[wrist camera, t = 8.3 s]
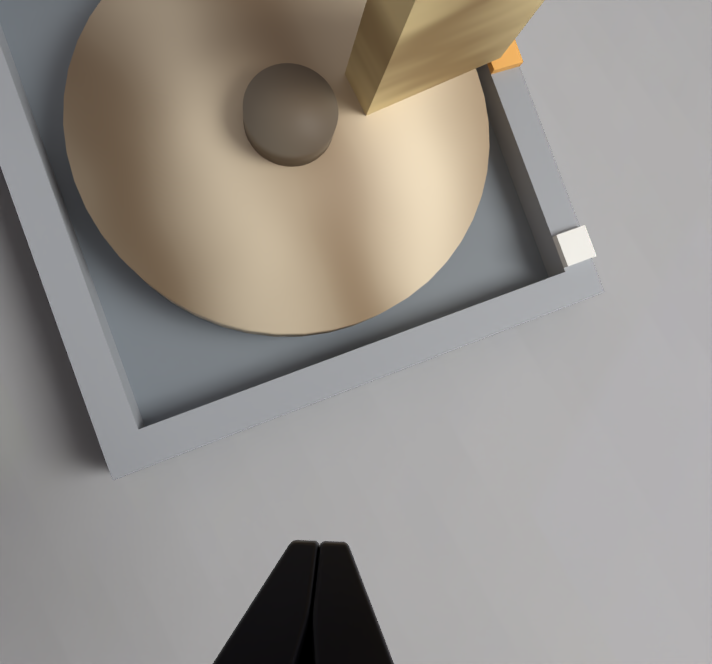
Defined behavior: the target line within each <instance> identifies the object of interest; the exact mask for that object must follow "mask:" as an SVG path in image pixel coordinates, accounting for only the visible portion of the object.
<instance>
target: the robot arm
mask: <svg viewBox="0 0 712 664" xmlns="http://www.w3.org/2000/svg"><path fill="white" fill-rule="evenodd" d="M213 664H394V663H393V660H392V658H391V655H390V652H389V650H388V647H387V645H386V642H385V639H384V637H383V634H382V631H381V629H380V626H379V624H378V621H377V618H376V616H375V613H374V610H373V608H372V605H371V603H370V600H369V597H368V595H367V592H366V589H365V587H364V584H363V582H362V579H361V576H360V574H359V571H358V568H357V566H356V563H355V561H354V558H353V555H352V553H351V550H350V548H349V546H348V544H347V543H345V542H332V541H324V542H322V543H321V544H320V546H319V543H318V542H316V541H306V540H295V541H293V542H291V543H290V544H289V546H288V547H287V549H286V550H285V552H284V554H283V555H282V557H281V558H280V560H279V561H278V563H277V564H276V566H275V568H274V569H273V571H272V572H271V574H270V575H269V577H268V579H267V580H266V582H265V583H264V585H263V586H262V588H261V589H260V591H259V593H258V594H257V596H256V597H255V599H254V600H253V602H252V603H251V605H250V607H249V608H248V610H247V611H246V613H245V614H244V616H243V617H242V619H241V621H240V622H239V624H238V625H237V627H236V628H235V630H234V631H233V633H232V635H231V636H230V638H229V639H228V641H227V642H226V644H225V646H224V647H223V649H222V650H221V652H220V653H219V655H218V656H217V658H216V660H215V661H214V663H213Z"/></svg>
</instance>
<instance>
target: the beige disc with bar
mask: <svg viewBox="0 0 712 664" xmlns="http://www.w3.org/2000/svg"><path fill="white" fill-rule="evenodd" d="M543 2H544V0H101V1H100V3H99V4H98V5H97V7H96V8H95V10H94V11H93V13H92V14H91V15H90V17H89V19H88V21H87V23H86V25H85V27H84V29H83V31H82V33H81V35H80V37H79V39H78V41H77V44H76V47H75V50H74V53H73V56H72V59H71V62H70V65H69V68H68V74H67V80H66V86H65V92H64V111H63V127H64V135H65V143H66V151H67V156H68V159H69V163H70V167H71V171H72V174H73V178H74V181H75V184H76V186H77V188H78V191H79V193H80V196H81V198H82V200H83V203H84V205H85V207H86V209H87V211H88V213H89V214H90V216H91V218H92V219H93V221H94V223H95V224H96V226H97V228H98V229H99V231H100V233H101V234H102V235H103V237H104V238H105V239H106V240H107V242H108V243H109V244H110V246H111V247H112V248H113V249H114V251H115V252H116V253H117V254H118V256H119V257H120V258H121V259H122V260H123V261H124V262H125V263H126V264H127V265H128V266H129V267H130V268H131V269H133V270H134V271H135V272H136V273H137V274H138V275H139V276H140V277H141V278H142V279H143V280H144V281H145V282H146V283H147V284H148V285H149V286H150V287H152V288H153V289H154V290H156V291H157V292H158V293H160V294H161V295H162V296H164V297H165V298H166V299H168V300H169V301H170V302H172V303H173V304H175V305H177V306H179V307H181V308H182V309H184V310H186V311H188V312H190V313H191V314H193V315H195V316H197V317H199V318H202V319H204V320H207V321H209V322H212V323H214V324H217V325H219V326H222V327H225V328H229V329H233V330H237V331H241V332H245V333H249V334H257V335H265V336H273V337H303V336H310V335H317V334H324V333H330V332H333V331H337V330H341V329H344V328H348V327H351V326H354V325H356V324H359V323H361V322H363V321H366V320H368V319H370V318H373V317H375V316H377V315H379V314H381V313H383V312H385V311H386V310H388V309H390V308H391V307H393V306H395V305H396V304H398V303H400V302H401V301H403V300H405V299H406V298H408V297H409V296H411V295H412V294H413V293H414V292H416V291H417V290H418V289H419V288H421V287H422V286H423V285H424V284H426V283H427V282H428V281H429V280H430V279H431V278H432V277H433V276H434V275H435V274H436V273H437V272H438V271H439V270H440V269H441V268H442V267H443V265H444V264H445V263H446V262H447V261H448V259H449V258H450V257H451V255H452V254H453V253H454V251H455V250H456V248H457V247H458V246H459V244H460V243H461V241H462V239H463V238H464V236H465V234H466V232H467V230H468V228H469V226H470V224H471V222H472V221H473V218H474V216H475V213H476V210H477V207H478V205H479V202H480V199H481V197H482V193H483V188H484V184H485V179H486V175H487V169H488V157H489V121H488V115H487V109H486V103H485V97H484V93H483V90H482V87H481V83H480V80H479V76H478V73H477V70H476V68H478V67H480V66H483V65H485V64H487V63H490V62H492V61H494V60H497V59H499V58H501V56H502V55H503V54H504V53H505V51H506V50H507V49H508V47H509V46H510V45H511V43H512V42H513V41H514V39H515V38H516V37H517V36H518V34H519V33H520V32H521V30H522V29H523V28H524V26H525V25H526V24H527V23H528V21H529V20H530V19H531V17H532V16H533V15H534V13H535V12H536V11H537V9H538V8H539V7H540V6H541V4H542V3H543Z"/></svg>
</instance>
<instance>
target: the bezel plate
mask: <svg viewBox="0 0 712 664" xmlns="http://www.w3.org/2000/svg"><path fill="white" fill-rule="evenodd" d="M100 1H101V0H0V166H1V169H2V172H3V175H4V178H5V180H6V183H7V186H8V189H9V192H10V194H11V197H12V200H13V203H14V206H15V208H16V211H17V214H18V217H19V220H20V222H21V225H22V228H23V231H24V234H25V236H26V239H27V242H28V245H29V248H30V250H31V253H32V256H33V259H34V262H35V264H36V267H37V270H38V273H39V276H40V278H41V281H42V284H43V287H44V290H45V292H46V295H47V298H48V301H49V304H50V306H51V309H52V312H53V315H54V318H55V320H56V323H57V326H58V329H59V332H60V334H61V337H62V340H63V343H64V346H65V348H66V351H67V354H68V357H69V360H70V362H71V365H72V368H73V371H74V374H75V376H76V379H77V382H78V385H79V388H80V390H81V393H82V396H83V399H84V402H85V405H86V407H87V410H88V413H89V416H90V419H91V421H92V424H93V427H94V430H95V433H96V435H97V438H98V441H99V444H100V447H101V449H102V452H103V455H104V458H105V461H106V463H107V466H108V469H109V472H110V475H111V477H112V480H115V479H118V478H121V477H123V476H126V475H128V474H131V473H134V472H136V471H139V470H142V469H144V468H147V467H149V466H152V465H155V464H157V463H160V462H162V461H165V460H168V459H170V458H173V457H175V456H178V455H181V454H183V453H186V452H189V451H191V450H194V449H196V448H199V447H202V446H204V445H207V444H209V443H212V442H215V441H217V440H220V439H223V438H225V437H228V436H230V435H233V434H236V433H238V432H241V431H243V430H246V429H249V428H251V427H254V426H257V425H259V424H262V423H264V422H267V421H270V420H272V419H275V418H277V417H280V416H283V415H285V414H288V413H290V412H293V411H296V410H298V409H301V408H304V407H306V406H309V405H311V404H314V403H317V402H319V401H322V400H324V399H327V398H330V397H332V396H335V395H338V394H340V393H343V392H345V391H348V390H351V389H353V388H356V387H358V386H361V385H364V384H366V383H369V382H372V381H374V380H377V379H379V378H382V377H385V376H387V375H390V374H392V373H395V372H398V371H400V370H403V369H406V368H408V367H411V366H413V365H416V364H419V363H421V362H424V361H426V360H429V359H432V358H434V357H437V356H439V355H442V354H445V353H447V352H450V351H453V350H455V349H458V348H460V347H463V346H466V345H468V344H471V343H473V342H476V341H479V340H481V339H484V338H487V337H489V336H492V335H494V334H497V333H500V332H502V331H505V330H507V329H510V328H513V327H515V326H518V325H521V324H523V323H526V322H528V321H531V320H534V319H536V318H539V317H541V316H544V315H547V314H549V313H552V312H554V311H557V310H560V309H562V308H565V307H568V306H570V305H573V304H575V303H578V302H581V301H583V300H586V299H588V298H591V297H594V296H596V295H599V294H602V293H604V292H605V291H604V289H603V286H602V283H601V281H600V278H599V275H598V273H597V270H596V267H595V265H594V262H593V259H592V257H595V256H596V253H595V251H594V248H593V245H592V243H591V240H590V237H589V235H588V232H587V229H586V227H585V225H583V226H580V225H579V222H578V220H577V217H576V214H575V212H574V209H573V206H572V204H571V201H570V198H569V196H568V193H567V190H566V188H565V185H564V182H563V180H562V177H561V175H560V172H559V169H558V167H557V164H556V161H555V159H554V156H553V153H552V151H551V148H550V145H549V143H548V140H547V137H546V135H545V132H544V129H543V127H542V124H541V121H540V119H539V116H538V114H537V111H536V108H535V106H534V103H533V100H532V98H531V95H530V92H529V90H528V87H527V84H526V82H525V79H524V76H523V74H522V71H521V68H520V65H521V64H522V63H523V60H522V57H521V54H520V52H519V49H518V47H517V44H516V41H515V39H514V41H513V42H512V43H511V45H510V46H509V47H508V49H507V50H506V51H505V53H504V54H503V55H502V56H501V58H499V59H497V60H494V61H492V62H490V63H487V64H485V65H483V66H480V67H478V68H476V70H477V73H478V76H479V80H480V83H481V87H482V90H483V93H484V97H485V103H486V109H487V115H488V121H489V157H488V169H487V175H486V179H485V184H484V188H483V193H482V197H481V199H480V202H479V205H478V207H477V210H476V213H475V216H474V218H473V221H472V222H471V224H470V226H469V228H468V230H467V232H466V234H465V236H464V238H463V239H462V241H461V243H460V244H459V246H458V247H457V248H456V250H455V251H454V253H453V254H452V255H451V257H450V258H449V259H448V261H447V262H446V263H445V264H444V265H443V267H442V268H441V269H440V270H439V271H438V272H437V273H436V274H435V275H434V276H433V277H432V278H431V279H430V280H429V281H428V282H427V283H426V284H424V285H423V286H422V287H421V288H419V289H418V290H417V291H416V292H414V293H413V294H412V295H411V296H409V297H408V298H406V299H405V300H403V301H401V302H400V303H398V304H396V305H395V306H393V307H391V308H390V309H388V310H386V311H385V312H383V313H381V314H379V315H377V316H375V317H373V318H370V319H368V320H366V321H363V322H361V323H359V324H356V325H354V326H351V327H348V328H344V329H341V330H337V331H333V332H330V333H324V334H317V335H310V336H303V337H273V336H265V335H257V334H249V333H245V332H241V331H237V330H233V329H229V328H225V327H222V326H219V325H217V324H214V323H212V322H209V321H207V320H204V319H202V318H199V317H197V316H195V315H193V314H191V313H190V312H188V311H186V310H184V309H182V308H181V307H179V306H177V305H175V304H173V303H172V302H170V301H169V300H168V299H166V298H165V297H164V296H162V295H161V294H160V293H158V292H157V291H156V290H154V289H153V288H152V287H150V286H149V285H148V284H147V283H146V282H145V281H144V280H143V279H142V278H141V277H140V276H139V275H138V274H137V273H136V272H135V271H134V270H133V269H131V268H130V267H129V266H128V265H127V264H126V263H125V262H124V261H123V260H122V259H121V258H120V257H119V256H118V254H117V253H116V252H115V251H114V249H113V248H112V247H111V246H110V244H109V243H108V242H107V240H106V239H105V238H104V237H103V235H102V234H101V233H100V231H99V229H98V228H97V226H96V224H95V223H94V221H93V219H92V218H91V216H90V214H89V213H88V211H87V209H86V207H85V205H84V203H83V200H82V198H81V196H80V193H79V191H78V188H77V186H76V184H75V181H74V178H73V174H72V171H71V167H70V163H69V159H68V156H67V151H66V143H65V135H64V127H63V111H64V92H65V86H66V80H67V74H68V68H69V65H70V62H71V59H72V56H73V53H74V50H75V47H76V44H77V41H78V39H79V37H80V35H81V33H82V31H83V29H84V27H85V25H86V23H87V21H88V19H89V17H90V15H91V14H92V13H93V11H94V10H95V8H96V7H97V5H98V4H99V3H100Z"/></svg>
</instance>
